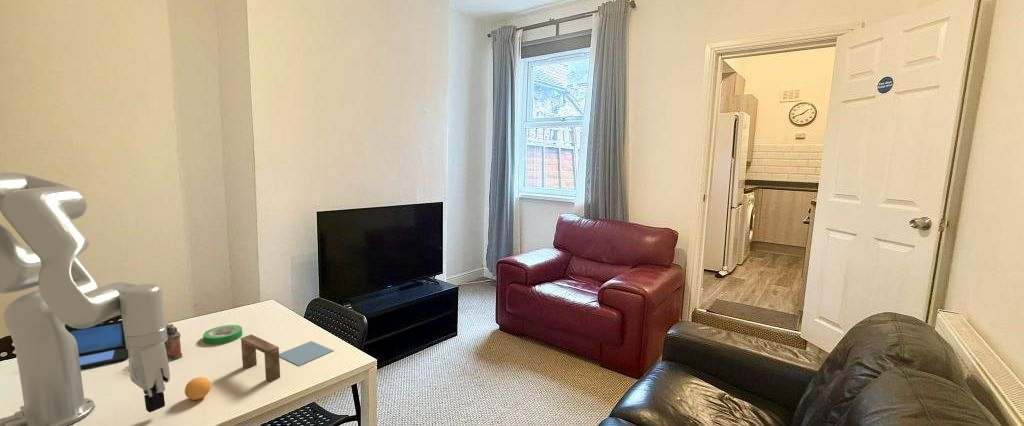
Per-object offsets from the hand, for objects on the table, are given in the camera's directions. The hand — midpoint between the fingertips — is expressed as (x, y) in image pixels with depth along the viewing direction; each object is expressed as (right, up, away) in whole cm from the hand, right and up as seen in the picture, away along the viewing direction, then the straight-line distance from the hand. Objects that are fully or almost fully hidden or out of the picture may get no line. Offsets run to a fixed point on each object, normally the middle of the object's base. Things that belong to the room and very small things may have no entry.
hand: (155, 408), depth 102 cm
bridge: (+12, +1, +22) cm, 25 cm away
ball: (+4, +2, +8) cm, 9 cm away
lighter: (-20, +3, +30) cm, 36 cm away
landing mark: (+20, +2, +34) cm, 39 cm away
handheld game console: (-41, +2, +26) cm, 48 cm away
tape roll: (-13, +4, +43) cm, 45 cm away
